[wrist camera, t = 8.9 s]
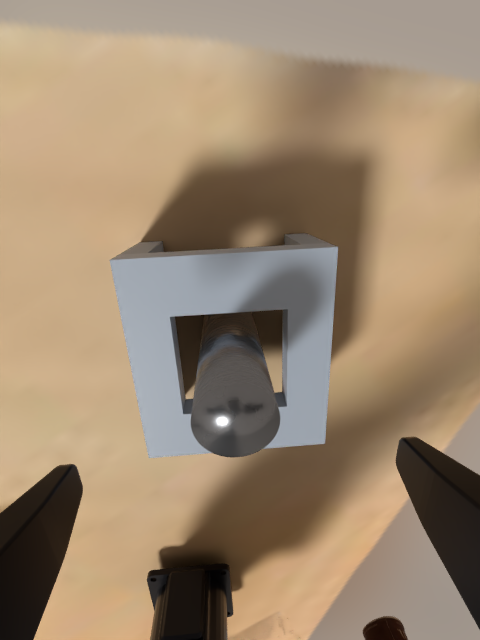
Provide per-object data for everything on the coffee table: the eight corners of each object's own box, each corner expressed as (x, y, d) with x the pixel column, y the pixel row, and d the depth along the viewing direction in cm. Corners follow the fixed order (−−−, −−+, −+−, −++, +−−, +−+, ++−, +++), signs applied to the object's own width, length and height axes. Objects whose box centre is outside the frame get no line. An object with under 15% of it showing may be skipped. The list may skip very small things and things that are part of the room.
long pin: (254, 343, 20) (280, 453, 11) (205, 346, 19) (195, 460, 11) (253, 297, 18) (280, 380, 10) (201, 300, 18) (186, 387, 10)
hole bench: (301, 388, 21) (325, 443, 16) (164, 398, 21) (148, 458, 16) (306, 233, 17) (338, 247, 13) (139, 242, 17) (109, 259, 12)
